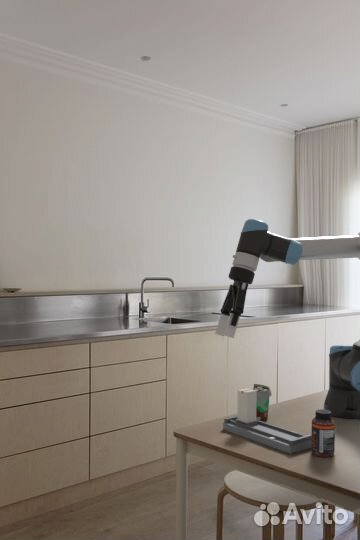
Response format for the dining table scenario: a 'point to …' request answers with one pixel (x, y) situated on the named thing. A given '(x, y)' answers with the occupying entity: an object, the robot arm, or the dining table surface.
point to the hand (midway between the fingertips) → (224, 336)
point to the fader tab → (247, 407)
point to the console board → (269, 435)
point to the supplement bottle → (323, 434)
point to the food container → (262, 401)
